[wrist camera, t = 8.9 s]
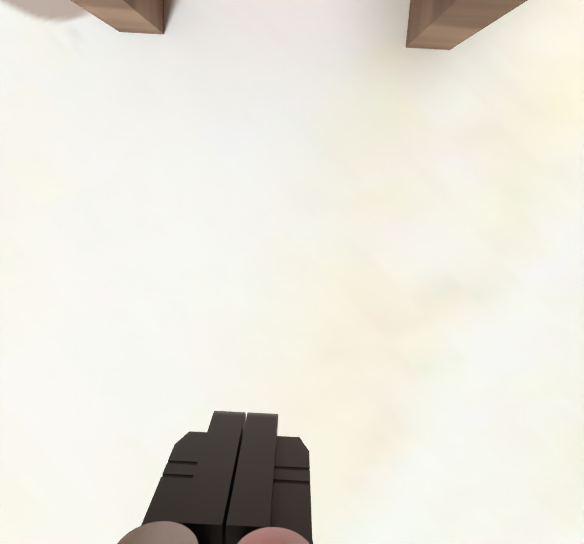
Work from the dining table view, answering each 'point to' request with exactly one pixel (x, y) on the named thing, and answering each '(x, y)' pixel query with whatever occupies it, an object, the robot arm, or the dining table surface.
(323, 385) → the dining table surface
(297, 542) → the robot arm
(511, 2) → the bridge
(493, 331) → the dining table surface
